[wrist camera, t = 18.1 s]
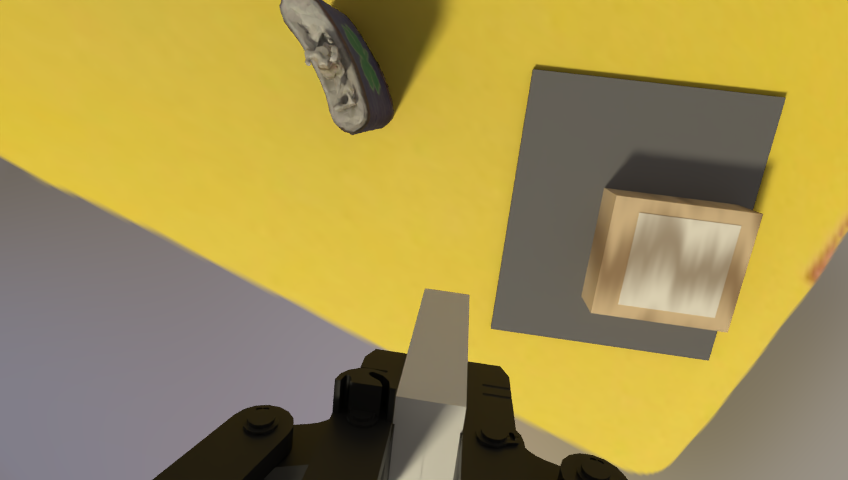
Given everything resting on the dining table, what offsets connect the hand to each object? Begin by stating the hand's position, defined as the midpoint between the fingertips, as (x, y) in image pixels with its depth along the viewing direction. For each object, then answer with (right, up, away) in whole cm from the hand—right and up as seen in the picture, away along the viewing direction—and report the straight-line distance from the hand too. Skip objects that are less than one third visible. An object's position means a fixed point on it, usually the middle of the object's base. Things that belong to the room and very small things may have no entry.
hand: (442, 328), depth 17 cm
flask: (-6, +16, +22) cm, 28 cm away
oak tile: (+13, +2, +21) cm, 25 cm away
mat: (+15, +4, +23) cm, 28 cm away
